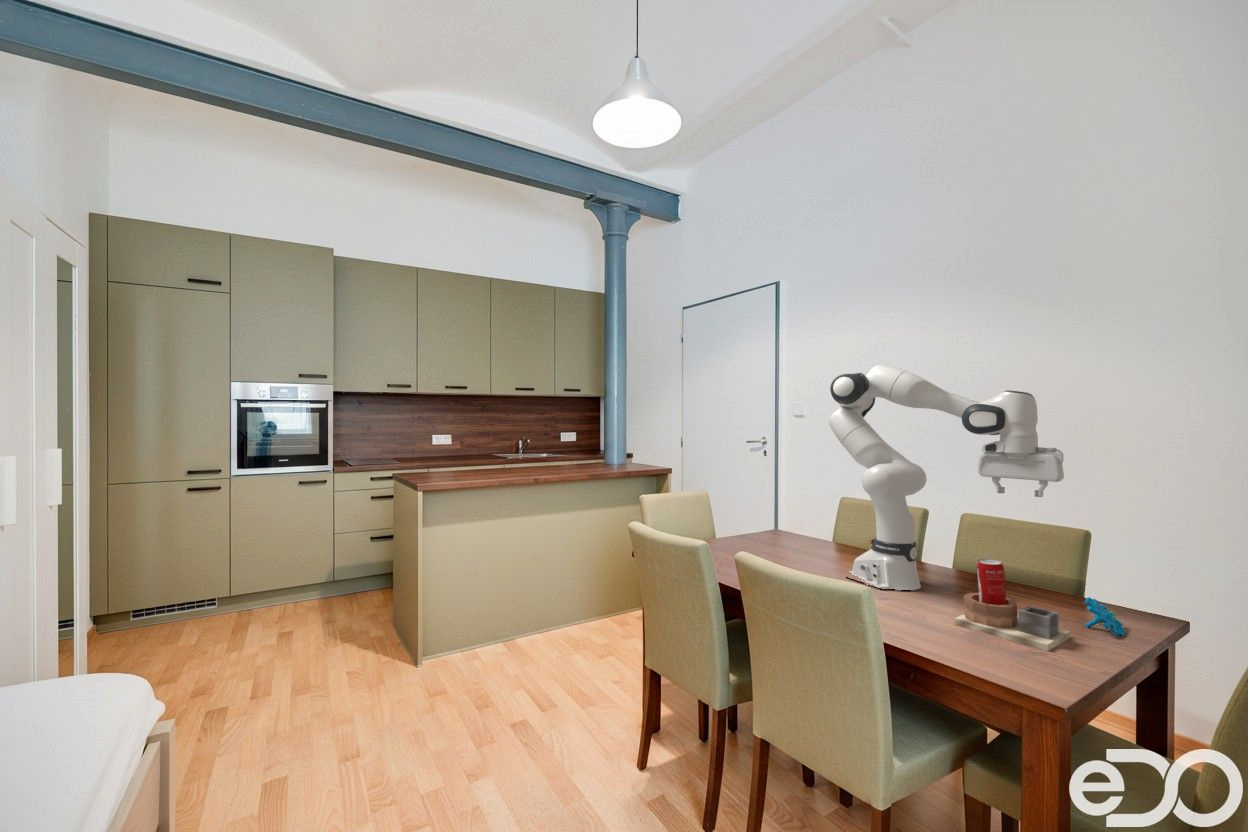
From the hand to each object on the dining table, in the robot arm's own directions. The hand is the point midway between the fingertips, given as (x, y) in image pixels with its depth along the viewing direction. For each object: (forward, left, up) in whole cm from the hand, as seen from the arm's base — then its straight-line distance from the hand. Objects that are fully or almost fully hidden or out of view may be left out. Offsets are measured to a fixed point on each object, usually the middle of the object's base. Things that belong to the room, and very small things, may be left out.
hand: (1019, 494), depth 155 cm
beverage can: (+3, -24, -30) cm, 39 cm away
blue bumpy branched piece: (+20, -6, -31) cm, 38 cm away
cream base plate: (+7, -25, -31) cm, 41 cm away
